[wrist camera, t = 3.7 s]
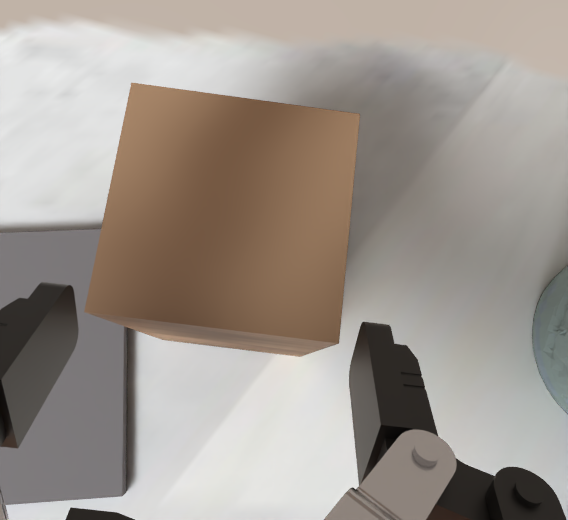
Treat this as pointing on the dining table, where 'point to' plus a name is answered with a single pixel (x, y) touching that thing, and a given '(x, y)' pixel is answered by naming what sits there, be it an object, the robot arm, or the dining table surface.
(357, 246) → the dining table surface
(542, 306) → the embossed blue-grey cup
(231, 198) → the brown wooden block
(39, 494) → the charcoal mat
